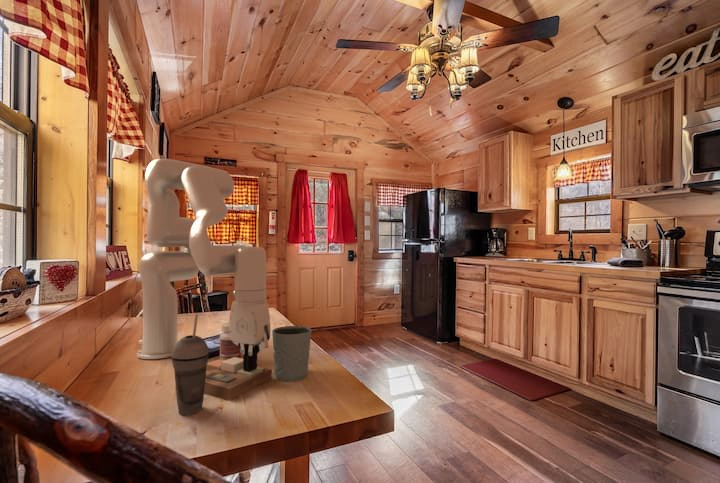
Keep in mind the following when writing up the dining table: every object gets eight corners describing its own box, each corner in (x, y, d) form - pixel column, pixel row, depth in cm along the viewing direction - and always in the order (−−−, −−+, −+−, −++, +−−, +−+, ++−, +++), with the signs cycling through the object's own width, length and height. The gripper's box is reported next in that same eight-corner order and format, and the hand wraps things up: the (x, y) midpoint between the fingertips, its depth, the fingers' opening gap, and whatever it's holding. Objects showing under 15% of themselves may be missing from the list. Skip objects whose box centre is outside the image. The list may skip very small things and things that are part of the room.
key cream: (220, 369, 95) (220, 361, 95) (234, 364, 99) (234, 357, 99) (233, 372, 93) (233, 364, 93) (247, 367, 97) (247, 359, 97)
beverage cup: (179, 403, 81) (179, 311, 81) (213, 402, 82) (214, 311, 82) (164, 419, 74) (164, 318, 74) (202, 418, 75) (202, 318, 75)
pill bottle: (245, 364, 106) (245, 324, 106) (222, 368, 103) (222, 327, 103) (238, 358, 112) (239, 320, 112) (217, 362, 108) (217, 323, 108)
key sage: (236, 379, 92) (236, 370, 92) (249, 373, 96) (249, 365, 96) (250, 382, 90) (250, 374, 90) (263, 376, 94) (263, 368, 94)
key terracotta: (205, 371, 97) (205, 363, 97) (219, 366, 101) (219, 358, 101) (218, 374, 95) (218, 366, 95) (231, 369, 99) (231, 361, 99)
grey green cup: (264, 379, 95) (264, 332, 95) (285, 366, 105) (285, 323, 105) (299, 384, 92) (299, 336, 92) (317, 371, 101) (318, 327, 101)
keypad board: (175, 385, 91) (175, 372, 91) (221, 367, 104) (221, 356, 104) (229, 400, 83) (229, 386, 83) (271, 379, 95) (271, 367, 95)
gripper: (217, 296, 93) (217, 369, 93) (262, 300, 86) (262, 380, 86) (239, 292, 100) (239, 360, 100) (283, 296, 93) (283, 370, 93)
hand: (250, 369), depth 93 cm, fingers closed
